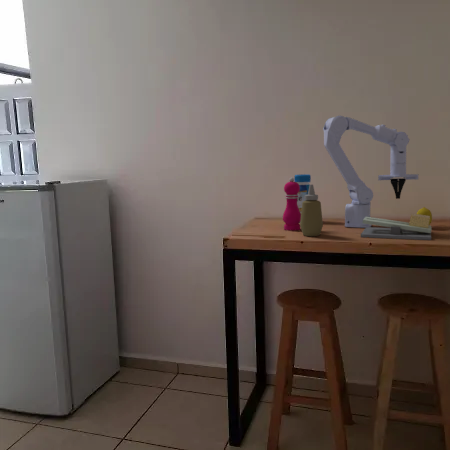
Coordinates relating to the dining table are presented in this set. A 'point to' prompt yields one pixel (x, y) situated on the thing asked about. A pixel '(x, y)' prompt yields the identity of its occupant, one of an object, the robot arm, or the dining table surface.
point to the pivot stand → (394, 233)
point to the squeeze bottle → (311, 214)
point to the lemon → (425, 213)
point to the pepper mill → (291, 206)
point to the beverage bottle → (302, 188)
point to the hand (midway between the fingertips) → (398, 198)
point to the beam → (395, 224)
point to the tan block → (419, 220)
